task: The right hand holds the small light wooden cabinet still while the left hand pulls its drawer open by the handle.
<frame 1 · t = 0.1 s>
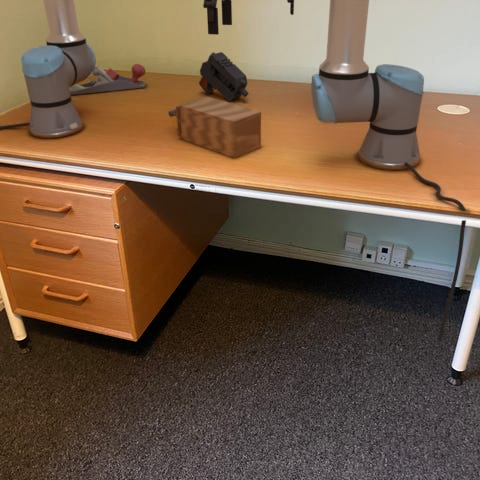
left hand: (220, 29, 147), 28 cm above the table, tool pointing down, fingers open, 13 cm apart
right hand: (313, 13, 166), 28 cm above the table, tool pointing down, fingers open, 13 cm apart
hand plane: (105, 89, 198), on the table
tool: (224, 97, 187), on the table
drawer: (206, 121, 151), point 5 cm above the table, slide at 1.0 cm
cabinet: (220, 142, 151), on the table
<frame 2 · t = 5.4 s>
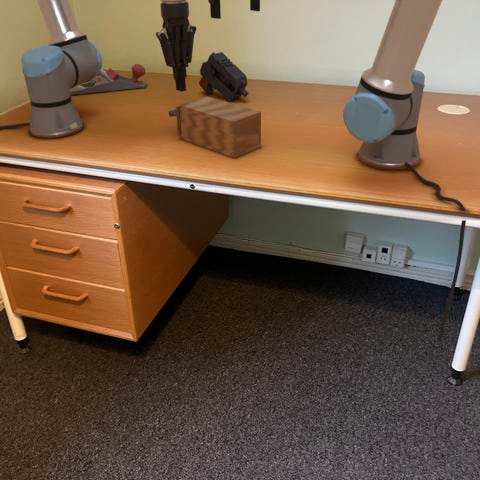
left hand: (181, 90, 153), 12 cm above the table, tool pointing down, fingers closed
right hand: (236, 14, 130), 34 cm above the table, tool pointing down, fingers open, 13 cm apart
nothing on the table moved.
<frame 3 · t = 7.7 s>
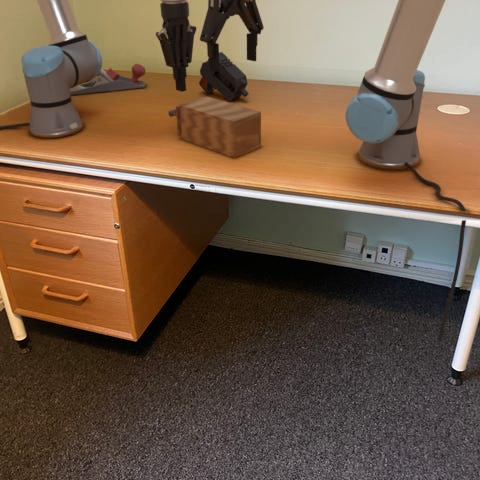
left hand: (181, 90, 153), 12 cm above the table, tool pointing down, fingers closed
right hand: (233, 65, 135), 22 cm above the table, tool pointing down, fingers open, 13 cm apart
nothing on the table moved.
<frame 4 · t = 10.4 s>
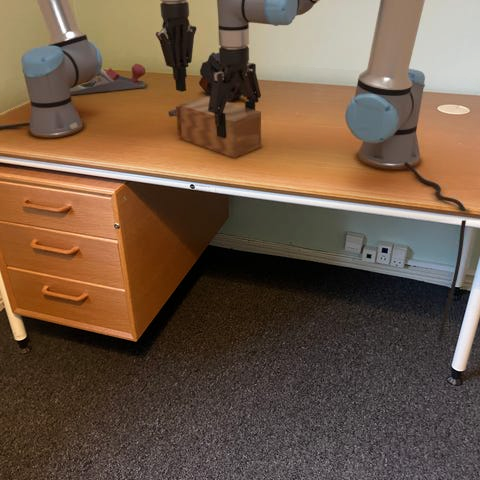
left hand: (181, 90, 153), 12 cm above the table, tool pointing down, fingers closed
right hand: (236, 130, 144), 5 cm above the table, tool pointing down, fingers closed on cabinet, 10 cm apart
cabinet: (220, 142, 151), on the table, touching right hand
everything else where it was.
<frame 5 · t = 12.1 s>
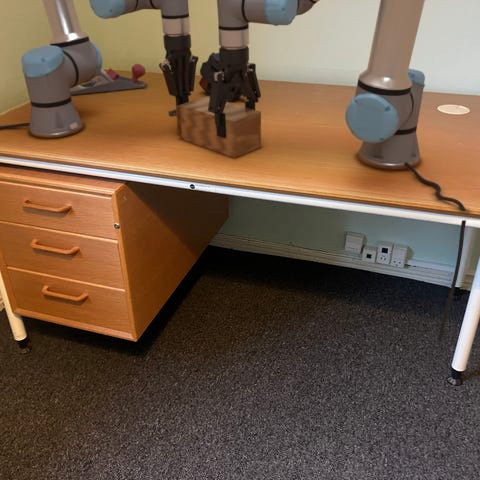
left hand: (183, 117, 158), 4 cm above the table, tool pointing down, fingers closed
right hand: (236, 130, 144), 5 cm above the table, tool pointing down, fingers closed on cabinet, 10 cm apart
drawer: (205, 121, 151), point 5 cm above the table, slide at 1.0 cm, touching left hand
cabinet: (220, 142, 151), on the table, touching right hand
everything else where it was.
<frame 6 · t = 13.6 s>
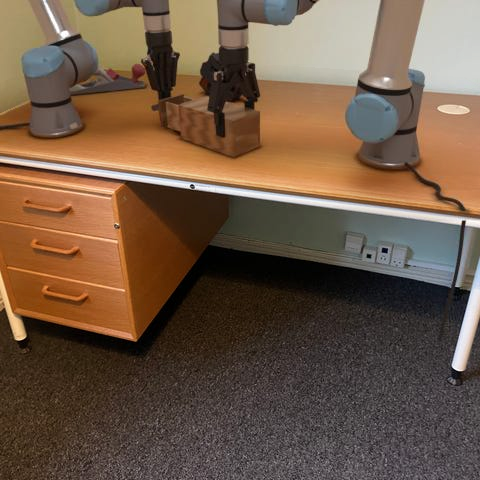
left hand: (166, 112, 162), 4 cm above the table, tool pointing down, fingers closed
right hand: (235, 130, 145), 5 cm above the table, tool pointing down, fingers closed on cabinet, 10 cm apart
drawer: (187, 115, 156), point 5 cm above the table, slide at 8.6 cm, touching left hand
cabinet: (219, 142, 151), on the table, touching right hand
everything else where it was.
when the right hand's fingers open (5 cm above the table, at t = 15.5 s): cabinet stays where it is, on the table.
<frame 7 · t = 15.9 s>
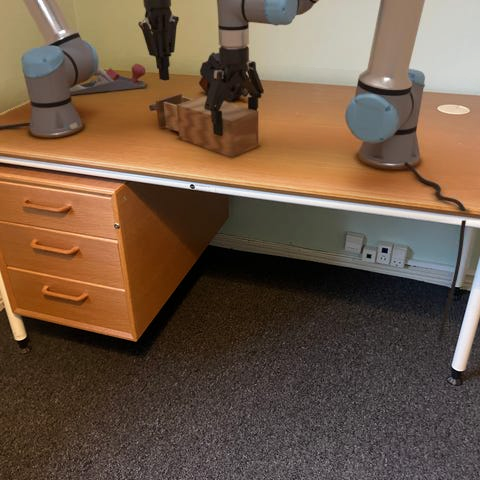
left hand: (164, 79, 157), 14 cm above the table, tool pointing down, fingers closed
right hand: (235, 127, 144), 6 cm above the table, tool pointing down, fingers open, 13 cm apart
drawer: (185, 115, 156), point 5 cm above the table, slide at 8.8 cm
cabinet: (218, 142, 151), on the table
everything else where it was.
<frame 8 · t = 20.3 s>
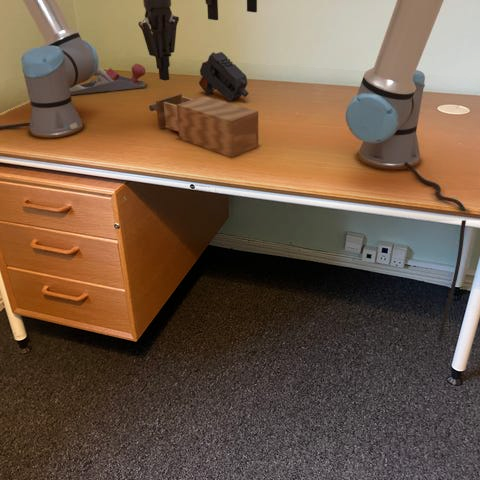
left hand: (164, 79, 157), 14 cm above the table, tool pointing down, fingers closed
right hand: (233, 15, 129), 34 cm above the table, tool pointing down, fingers open, 13 cm apart
nothing on the table moved.
at the end: drawer slide at 8.8 cm; cabinet tilted 0°; cabinet never tilted more than 4° during the clip; cabinet moved 0.8 cm from its start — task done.
